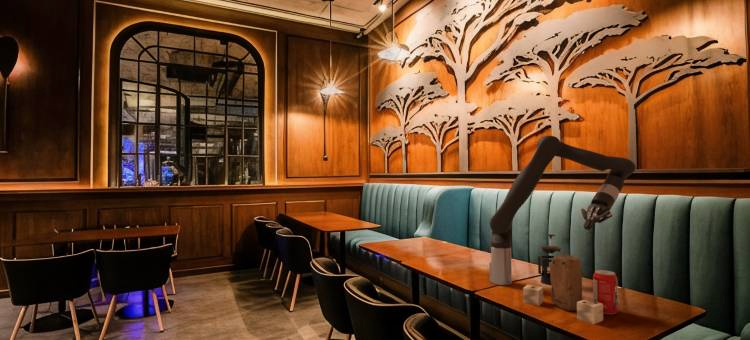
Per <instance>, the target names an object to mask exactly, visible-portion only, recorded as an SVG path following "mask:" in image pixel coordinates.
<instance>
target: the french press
mask: <svg viewBox="0 0 750 340" xmlns="http://www.w3.org/2000/svg"><path fill="white" fill-rule="evenodd" d="M545 236H546V237H549V241H550V242H549V243H550V245H541V246H540V248H541V252H542V253H544V254H555V252H558V253H561V250H562V247H560V246H557V245H556V246H555V245H552V239H553V237H556V235H555V234H553V233H552V234H550V233H549V234H545ZM555 256H556V255H538V256H537V263H538V265H537V268H538V269H537V271H538V273H537V274H538V275H540V282H541V284H544V285H547V286H552V285H551V278H550V266H548V263H551V261H552V259H553V258H554V257H555Z"/></svg>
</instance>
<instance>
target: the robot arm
mask: <svg viewBox="0 0 750 340" xmlns="http://www.w3.org/2000/svg"><path fill="white" fill-rule="evenodd" d="M555 157H558V158H562V159H565V160H567V161H572V162H575V163H577V164H580V165H582V166H584V167H587V168H590V169H593V170H597V171H600V172H604V171H607V170H609V171H608V173H607V176H606V178H605V180H604V181H603V183H602V185H601V186H600V187H599V188H598V190H597V191H596V193H595V195H594V196H593V198H592V199H591V202H590V204H589V205H588V207H587V208H584V207H583V208H582V207H581V209H580V211H581V215H582V218H583V219H584V220H585V222H584V224H583V228H584V230H585V231H590V230H591V229H592V228H593V227H594V225H595V224H597V223H598V224H601V223H603V222H605V221H606V220H608V219H610V218H612V217H613V214H612V212H611V210H612V208H613V207H614V204H615V203H616V201H617V199H618V197H619V195H620V193H621V191H622V189H623V187H624V186H625V185H624V184H625V181H626V179H627V178H628V177H629V176H631V175H632V174H634V172H636V168H637V167H636V164H635V163H634V162H633V160H630V159H629V158H626V157H620V156H611V155H610V156H609V155H608V156H607V155H605V154H602V153H599V152H595V151H592V150H589V149H584V148H579V147H576V146H573V145H570V144H567V143H565V142H563V141H561V140H560V139H559V138H558V137H556V136H554V135H544V136H542V137H540V138H539V139H538V140H537V143H536V150H535V152H534V154H533V156H532V158H531V159H530V161H529V162H528V163H527V164H526V165H525V166H524V167H523V169H522V170H521V171H520V172H519V173H518V175H517V176H516V178H515V180H514V181H513V183H512V184H511V187H510V188H509V190H508V192H507V194H506V196H505V198H504V201H503V202H502V204H501V205H500V206H499V208H498V209H497V210H496V212H495V213H494V214H493V215H492V217H491V218H490V220H489V227H490V229H491V238H490V261H489V263H488V264H489V282H490V283H492V284H494V285H497V286H510V285H512V283H513V281H512V280H513V278H512V277H513V276H512V275H513V273H512V272H513V271H512V270H513V269H512V239H513V237H512V236H513V233H512V232H513V230H512V229H513V227H512V226H513V225H512V224H513V223H512V222H513V220H514V218H515V216H516V214H517V213H518V211H519V210H520V208H522V206H523V205H524V204H525V203H526V202H527V200H528V199H529V198H530V197H531V195H532V193H533V192H534V191H535V188H537V186H538V183H539V182H540V180H541V178H542V176H543V175H544V172H545V171H546V168H547V167H548V166H549V165H550V163H551V162H552V161H553V159H555Z"/></svg>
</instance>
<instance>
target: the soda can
mask: <svg viewBox="0 0 750 340" xmlns="http://www.w3.org/2000/svg"><path fill="white" fill-rule="evenodd" d="M618 282H619V281H618V277H617V275H616V272H614V271H612V270H605V269H597V270H594V273H593V275H592V296H593V297H592V299H593V300H592V301H595V302H598V303H602V304H603V315H608V316H609V315H610V316H611V315H615V314H618V312H619V293H618V291H619V289H618V288H619V287H618V285H619V284H618Z"/></svg>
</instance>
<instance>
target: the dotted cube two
mask: <svg viewBox="0 0 750 340" xmlns="http://www.w3.org/2000/svg"><path fill="white" fill-rule="evenodd" d="M576 319H577V320H580V321H582V322H583V321H584V322H586V323H589V324H592V325H595V324H598V323H600V322H602V321H604V314H603V304H602V303H598V302H595V301H593V300H590V299H587V298H584V299H582V300H581V301H578V302H577V310H576Z"/></svg>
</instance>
